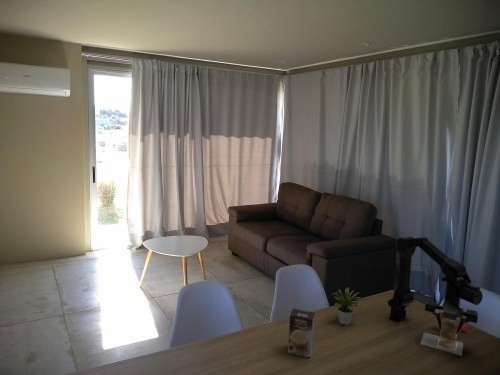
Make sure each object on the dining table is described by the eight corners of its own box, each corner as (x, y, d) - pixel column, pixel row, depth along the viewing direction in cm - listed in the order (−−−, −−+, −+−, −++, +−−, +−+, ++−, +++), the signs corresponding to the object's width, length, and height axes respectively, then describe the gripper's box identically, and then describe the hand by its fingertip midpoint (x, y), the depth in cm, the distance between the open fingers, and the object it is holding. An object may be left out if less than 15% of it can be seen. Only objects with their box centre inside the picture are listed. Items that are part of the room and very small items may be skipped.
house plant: (342, 334, 164) (344, 298, 162) (321, 319, 176) (323, 286, 174) (366, 326, 171) (368, 292, 169) (344, 313, 183) (346, 281, 181)
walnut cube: (440, 336, 155) (442, 325, 154) (441, 331, 159) (443, 320, 158) (454, 340, 152) (455, 328, 151) (455, 334, 156) (456, 323, 156)
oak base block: (438, 345, 155) (439, 336, 155) (439, 339, 160) (440, 330, 160) (455, 350, 152) (456, 341, 152) (456, 343, 157) (457, 334, 157)
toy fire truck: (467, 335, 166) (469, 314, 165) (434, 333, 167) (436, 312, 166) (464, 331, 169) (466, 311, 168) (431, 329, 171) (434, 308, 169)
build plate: (420, 345, 157) (420, 343, 157) (423, 334, 166) (424, 332, 166) (461, 358, 149) (461, 355, 149) (462, 345, 158) (463, 342, 158)
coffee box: (287, 353, 149) (288, 315, 147) (290, 345, 155) (292, 308, 153) (310, 358, 146) (312, 319, 144) (313, 349, 152) (315, 312, 150)
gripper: (424, 295, 151) (421, 332, 153) (479, 308, 141) (474, 347, 144) (428, 286, 160) (424, 321, 163) (479, 297, 151) (475, 334, 153)
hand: (448, 330), depth 155 cm, fingers open, 6 cm apart
